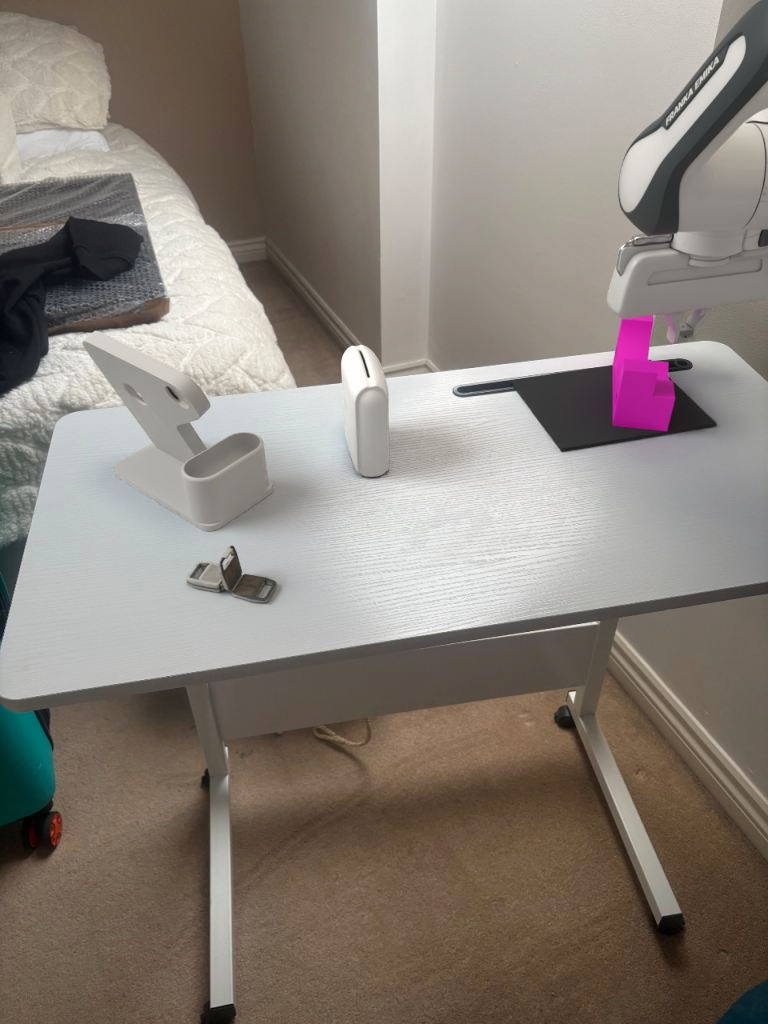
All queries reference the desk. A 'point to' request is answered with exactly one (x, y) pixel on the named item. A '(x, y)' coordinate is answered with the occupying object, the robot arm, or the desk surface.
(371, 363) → the photo printer
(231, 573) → the strap clip
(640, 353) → the toy block
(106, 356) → the phone holder
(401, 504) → the desk surface
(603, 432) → the mat
